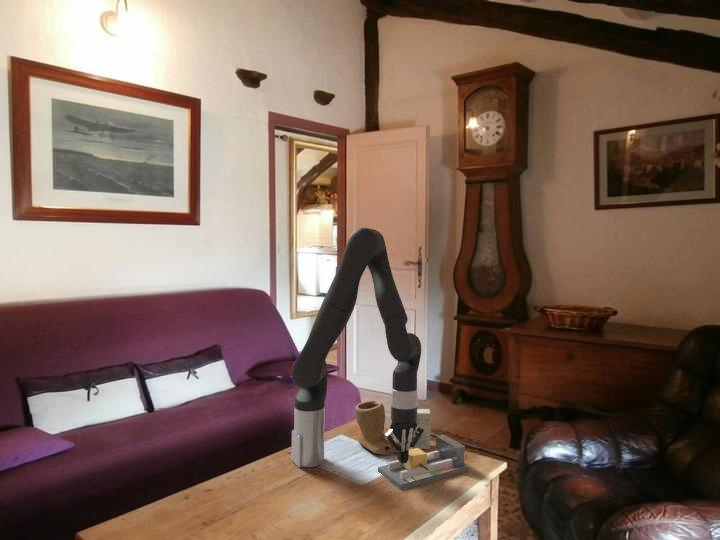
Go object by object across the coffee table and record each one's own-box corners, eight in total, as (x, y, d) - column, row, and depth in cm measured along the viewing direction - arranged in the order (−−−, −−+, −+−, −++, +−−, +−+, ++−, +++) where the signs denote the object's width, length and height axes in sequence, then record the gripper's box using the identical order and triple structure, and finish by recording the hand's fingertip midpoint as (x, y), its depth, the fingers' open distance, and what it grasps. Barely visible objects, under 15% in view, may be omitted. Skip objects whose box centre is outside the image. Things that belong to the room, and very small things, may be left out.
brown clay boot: (348, 442, 175) (348, 399, 174) (379, 436, 181) (380, 394, 179) (369, 460, 162) (370, 413, 160) (402, 453, 167) (403, 408, 166)
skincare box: (430, 444, 175) (431, 408, 174) (430, 450, 170) (431, 413, 169) (410, 443, 175) (411, 407, 174) (410, 448, 171) (411, 412, 170)
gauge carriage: (420, 479, 147) (420, 462, 146) (403, 466, 154) (403, 450, 154) (445, 472, 151) (446, 456, 151) (427, 460, 158) (428, 445, 158)
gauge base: (400, 490, 144) (400, 477, 144) (377, 472, 154) (378, 460, 154) (467, 471, 156) (468, 460, 155) (442, 455, 166) (442, 445, 166)
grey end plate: (456, 467, 155) (457, 448, 154) (435, 454, 163) (436, 436, 163) (464, 465, 156) (464, 446, 156) (443, 452, 165) (443, 434, 164)
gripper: (415, 396, 156) (414, 453, 157) (377, 403, 149) (376, 461, 151) (430, 404, 149) (429, 462, 151) (391, 411, 143) (390, 472, 144)
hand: (402, 462), depth 151 cm, fingers closed
